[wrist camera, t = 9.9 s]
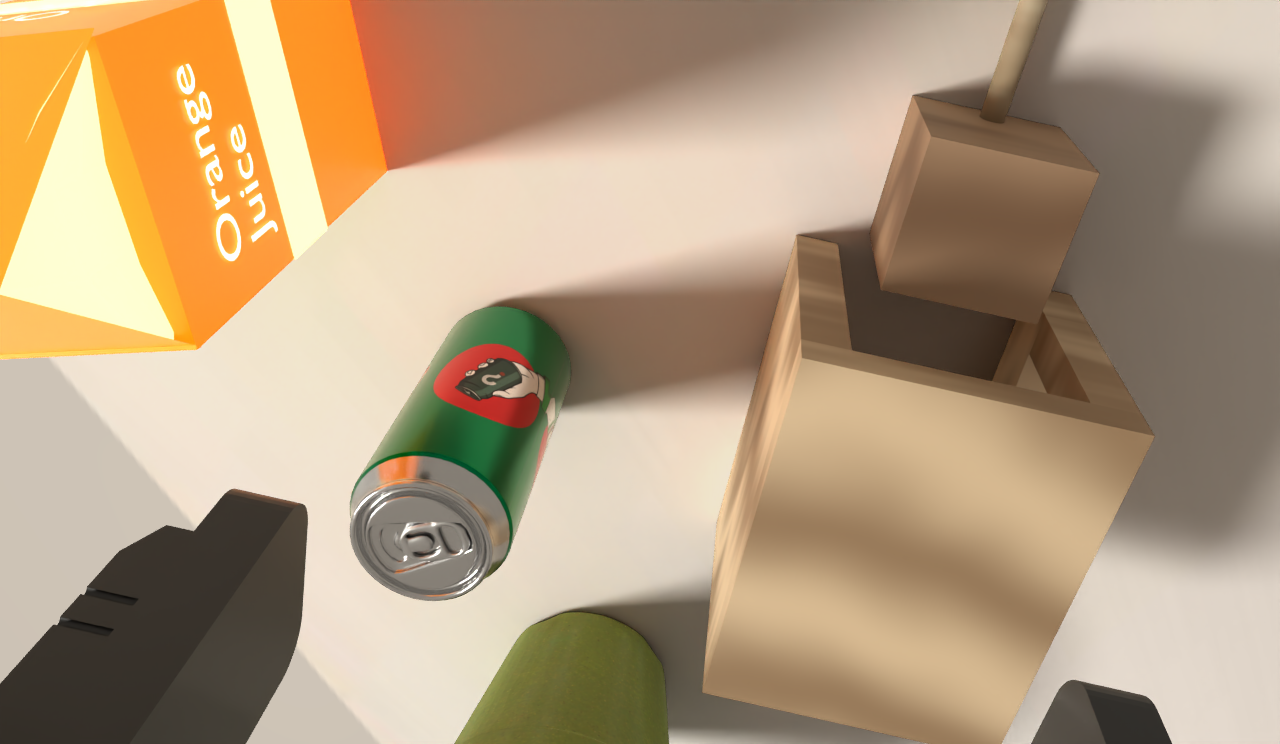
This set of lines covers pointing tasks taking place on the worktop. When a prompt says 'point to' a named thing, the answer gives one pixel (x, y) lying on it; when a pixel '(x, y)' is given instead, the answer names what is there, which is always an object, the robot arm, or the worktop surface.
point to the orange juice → (168, 162)
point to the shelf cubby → (911, 518)
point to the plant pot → (574, 688)
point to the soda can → (461, 457)
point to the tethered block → (981, 197)
